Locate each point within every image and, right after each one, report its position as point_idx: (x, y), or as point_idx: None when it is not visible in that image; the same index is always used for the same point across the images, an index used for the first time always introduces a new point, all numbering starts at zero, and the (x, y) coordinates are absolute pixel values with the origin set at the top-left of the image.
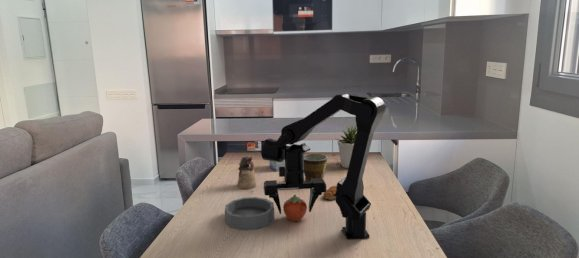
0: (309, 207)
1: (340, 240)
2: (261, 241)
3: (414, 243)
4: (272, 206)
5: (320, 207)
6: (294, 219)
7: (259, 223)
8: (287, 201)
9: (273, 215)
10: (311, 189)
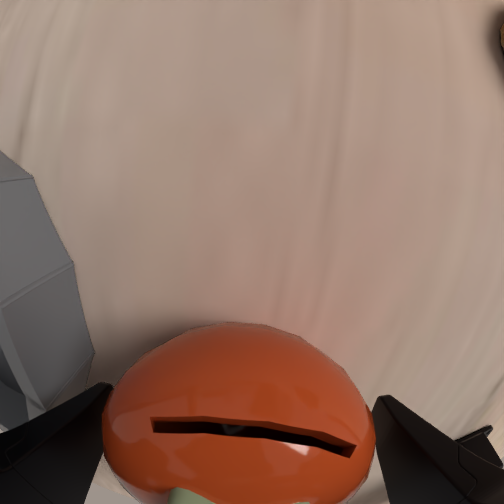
0: (382, 449)
1: (380, 492)
2: (104, 469)
3: (500, 452)
4: (26, 385)
5: (487, 188)
6: (231, 432)
7: None
8: (137, 499)
9: (74, 380)
10: None
